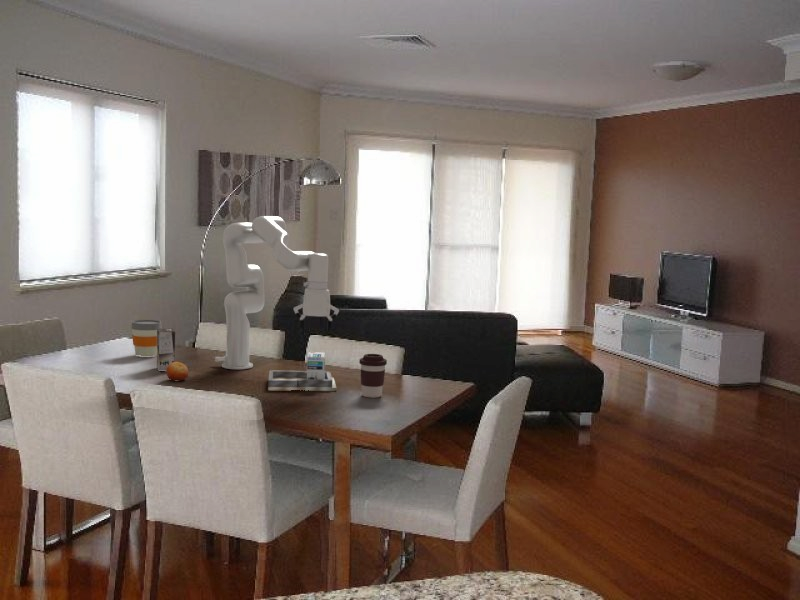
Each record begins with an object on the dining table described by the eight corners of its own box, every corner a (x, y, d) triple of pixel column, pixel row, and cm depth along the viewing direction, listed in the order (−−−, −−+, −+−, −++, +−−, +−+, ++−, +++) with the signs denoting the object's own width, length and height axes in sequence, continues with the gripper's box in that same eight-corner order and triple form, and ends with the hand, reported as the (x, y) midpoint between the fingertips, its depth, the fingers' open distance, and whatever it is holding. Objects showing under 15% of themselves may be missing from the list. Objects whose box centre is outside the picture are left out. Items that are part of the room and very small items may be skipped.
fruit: (174, 372, 312) (181, 356, 310) (186, 385, 310) (194, 369, 307) (157, 376, 306) (165, 359, 303) (170, 389, 303) (178, 373, 300)
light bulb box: (324, 385, 303) (325, 357, 302) (306, 384, 302) (307, 356, 301) (325, 379, 314) (325, 351, 312) (307, 378, 313) (308, 351, 312)
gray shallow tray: (268, 390, 296) (268, 380, 296) (269, 379, 314) (269, 370, 314) (336, 390, 300) (336, 381, 300) (333, 380, 318) (333, 371, 317)
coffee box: (175, 371, 322) (175, 331, 320) (158, 372, 319) (158, 331, 318) (172, 366, 330) (173, 328, 328) (156, 367, 328) (156, 328, 326)
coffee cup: (361, 399, 289) (363, 358, 287) (355, 392, 298) (356, 352, 297) (388, 398, 292) (390, 357, 290) (381, 392, 301) (382, 352, 299)
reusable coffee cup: (126, 357, 345) (127, 323, 343) (137, 352, 357) (137, 319, 355) (155, 359, 344) (156, 324, 343) (165, 354, 357) (165, 320, 355)
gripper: (294, 286, 301) (292, 331, 303) (340, 288, 303) (338, 332, 305) (294, 283, 308) (292, 328, 310) (339, 285, 310) (337, 329, 312)
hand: (315, 330), depth 308 cm, fingers open, 9 cm apart
